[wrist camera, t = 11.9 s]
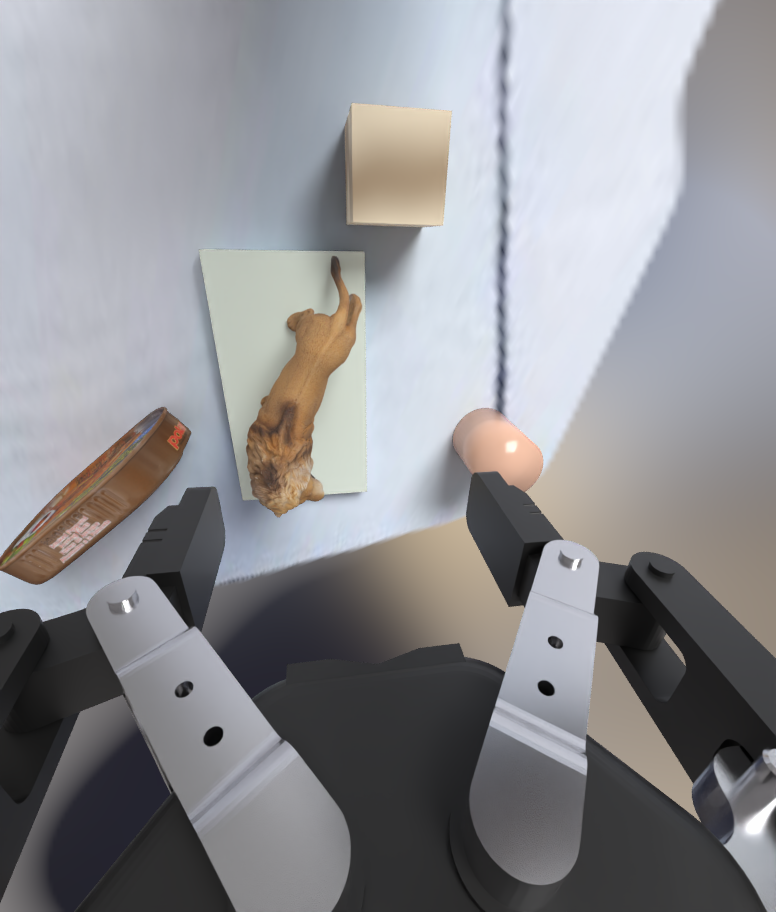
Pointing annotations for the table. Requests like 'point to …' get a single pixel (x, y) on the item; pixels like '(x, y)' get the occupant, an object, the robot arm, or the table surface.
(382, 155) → the birch block
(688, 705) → the robot arm
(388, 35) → the table surface
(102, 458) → the tin
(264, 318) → the sage board
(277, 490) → the lion figurine
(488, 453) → the peach rounded cylinder
